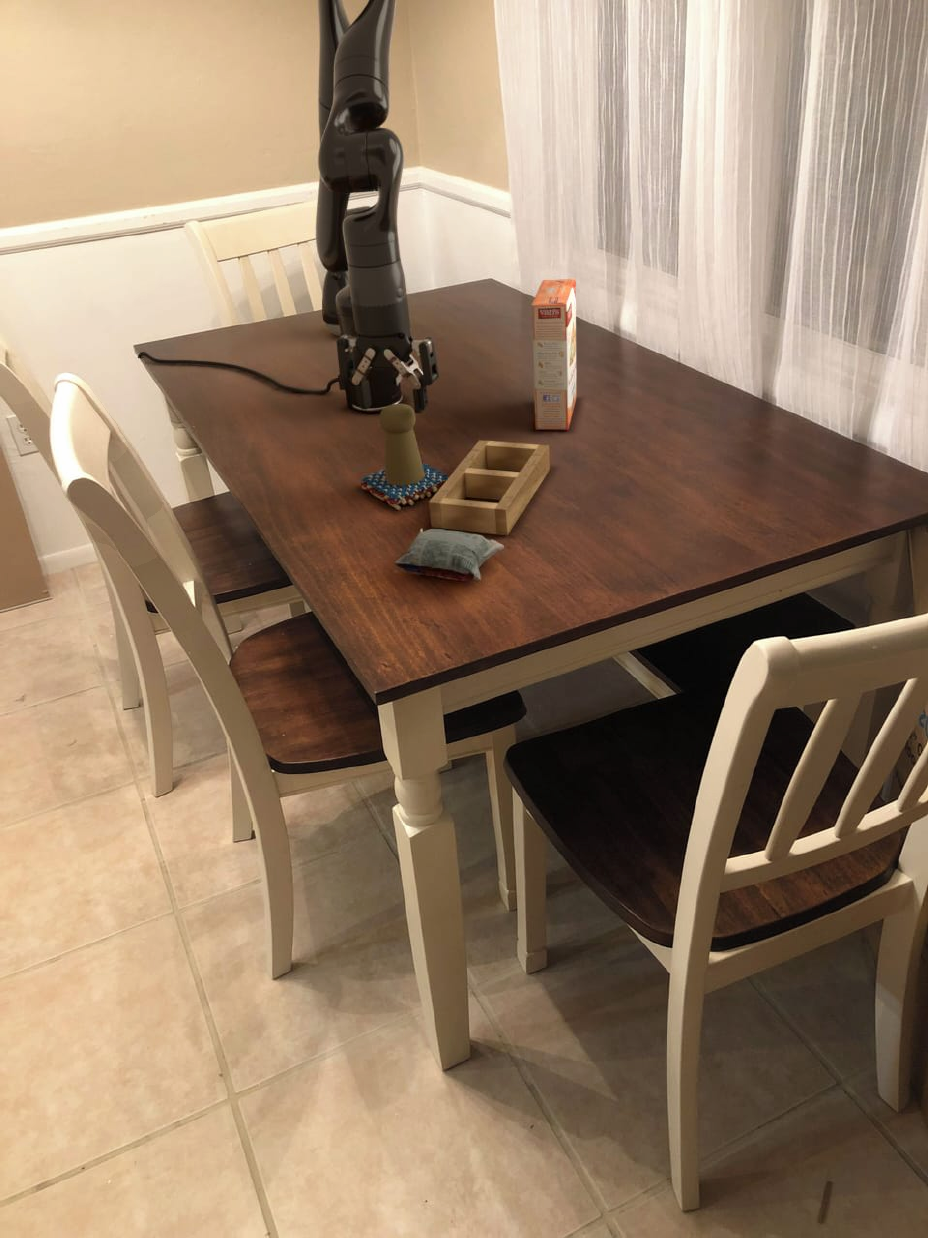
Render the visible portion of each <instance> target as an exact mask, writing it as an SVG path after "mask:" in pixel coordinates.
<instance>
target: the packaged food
mask: <svg viewBox="0 0 928 1238" xmlns="http://www.w3.org/2000/svg"><path fill="white" fill-rule="evenodd" d="M504 549H505V546H504V544H502V543H500V542H498V541H497V540H494V539H487V538H486V537H484V535H481V534H478V533H469V532H464V531H459V530H447V529H443V528H431V529H426V530H424V531H423V528H420V530H419V533H418V534H417V535H416V537H415V538H414V540H413V541H412V543H411V545H410V546H409V547H408V549H407V551H406V552H405V553H404V554H403V556H401V557H400V558H398V559H397V560H396V561H395V562H394V564H395V565H396V567H398V568H400V569H403V570H404V571H406V572H407V573H409V574H412V575H420V576H430V577H436V578H441V579H447V580H452V581H453V580H454V581H458V582H459V581H461V582H471V581H473V580H477V581H481V580H482V575H481V572H480V567H481V566H482V565H483V564H484V563H485V562H486V561H487V560H489V559H490V558H491V557H492V556H494V555H495V554H496V553H497V552H499V551H501V550H504Z"/></svg>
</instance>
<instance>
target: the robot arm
mask: <svg viewBox="0 0 928 1238" xmlns="http://www.w3.org/2000/svg"><path fill="white" fill-rule="evenodd" d="M397 2H398V1H397V0H368V1H367V3H366V4H365V5H364V7H363V9H362V10H361V11H360V13H359V14H358V15H357V16H356V18H355V19H354V20H353V21H352V22H351V23H350V21H349V18H348V15H347V12H346V9H345V6H344V1H343V0H317V14H318V15H317V16H318V81H317V82H318V83H317V84H318V88H317V103H318V104H317V113H318V114H317V115H318V117H317V119H318V140H319V141H318V142H319V143H318V147H319V148H318V155H317V166H318V167H317V168H318V173H319V177H318V188H317V189H318V191H317V192H318V193H317V203H316V216H315V245H316V251H317V255H318V258H319V261H320V263H321V265H322V266H323V268H324V269H325V270H326V271H327V270H328V271H329V272H332V273H340V272H346V271H348V282H349V285H347V286H346V287H345V288H343V289H342V290H341V291H340V292H339V293H338V294H337V296H336V307H337V313H338V319H339V325H340V332H341V337H339V338H338V339H337V340H336V349H337V351H336V353H337V361H338V370H339V371H338V372H339V374H338V375H337V377H335V378H333V379H331V380H329V381H328V382H327V385H326V388H324V389H321V390H308V389H303V388H298V387H293V386H288V385H286V384H285V385H284V384H282V383H280V382H278V381H277V380H275V379H273V378H271V377H269V376H267V375H265V374H263V373H261V372H259V371H256V370H253V369H250V368H248V367H244V366H240V365H236V364H232V363H226V362H219V361H211V360H210V361H209V360H195V359H194V360H192V359H161V358H155V357H153V356H151V355H150V354H149V353H147V352H145V351H141V352H139V354H138V355H137V359H141V358H143V356H144V357H145V358H147V359H148V360H150V361H152V362H154V363H159V364H189V365H190V364H191V365H206V366H215V367H224V368H230V369H234V370H238V371H242V372H245V373H249V374H251V375H254V376H256V377H259V378H260V379H263V380H265V381H266V382H269V383H271V384H273V385H274V386H276V387H278V388H280V389H282V390H286V391H289V392H295V393H299V394H305V395H306V394H307V395H324V394H327V393H329V392H330V390H331V387H332V386H333V385H334V384H337V383H338V387H339V390H340V391H344V392H345V393H344V394H345V399H346V404H347V408H348V409H352V410H355V411H356V412H360V413H366V414H367V413H368V414H372V413H373V414H375V413H381V411H382V409H384V408H385V407H387V406H389V405H393V404H403V402H404V398H403V393H402V391H403V390H402V386H401V381H402V380H403V378H404V379H406V380H407V381H408V382H409V384H410V385H411V386H412V399H413V407H414V408H413V409H414V413H415V414H422V413H423V412H424V411H425V410H426V408H427V407H428V406H429V397H428V386H432V385H433V384H434V383H435V382H436V381H437V380H438V379H439V375H440V374H439V368H438V362H437V354H436V348H435V343H434V339H433V338H432V337H430V336H428V337H426V338H425V339H414V338H413V336H412V334H411V321H410V320H411V319H410V311H409V302H408V295H407V284H406V275H405V272H404V267H403V263H402V257H401V249H400V239H399V230H398V210H399V209H398V208H399V198H400V191H401V185H402V180H403V179H402V178H403V173H404V165H405V151H404V147H403V144H402V142H401V139H400V138H399V135H397V134H396V133H395V132H394V131H393V130H391V129H390V128H387V127H382V125H383V124H385V123H386V121H387V120H388V117H389V114H390V103H391V101H390V99H391V98H390V97H391V95H390V89H391V88H390V82H391V81H390V78H391V77H390V61H391V60H390V59H391V49H392V48H391V46H392V38H393V31H394V25H395V18H396V8H397ZM371 192H373V193H374V192H378V198H377V201H376V203H375V204H373V205H372V206H370V205H365V206H364V205H363V206H358V207H354V208H348V206H349V201H350V197H351V195H352V194H358V193H371ZM413 351H415V352H416V353H415V354H416V356H417V357H419V358H420V364H421V368H420V365H419V362H418V361H417V360H416V358H415V357H414V356H413V355H412V352H413Z"/></svg>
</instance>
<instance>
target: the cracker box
mask: <svg viewBox="0 0 928 1238" xmlns="http://www.w3.org/2000/svg"><path fill="white" fill-rule="evenodd" d="M531 333H532V335H531V336H532V337H531V338H532V365H533V392H534V394H533V395H534V420H535V421H534V424H535V430H536V431H569V429H570V425H571V422H572V417H573V414H574V411H575V405H576V402H577V280H576V279H572V278H569V279H568V278H562V279H561V278H560V279H543V280H542V281H541V283H540V286H539V288H538V290H537V292H536V294H535V296H534V298H533V301H532V303H531Z"/></svg>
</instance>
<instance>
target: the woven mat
mask: <svg viewBox="0 0 928 1238" xmlns="http://www.w3.org/2000/svg"><path fill="white" fill-rule="evenodd" d="M421 461H422V465H423V469H424V473H425V477H424V478H423V479H422V480H421V481H419V482H417V483H414V484H411V485H405V486H397V485H392V484H389V483H387V482H386V480H385V469H380V471H379V472H377V473H376V472H375V473H373V472H372V473H371V474H370V475H368V476H364V477H363V478H362V479H361V481H362V482H360V486H361V489H363V490H365V491H367V492H370V494H372V495H373V496H374V497H376V498H377V499H379V500H380V501H382V502H386V503H387V504H388V505H390V506H391V507H393V508H394V509H396V510H397V511H400V510H401V509H402V507H401V506H400V505H403V506H405V505H407V504H409V505H410V506H413V505H414V504H415V502H414V501H418V500H419V498H420V499H421V500H423V499H425V497H429V498H430V497H431V496H432V493H437V492H438V490H439V489H440V488H441V487H442V485H443V484H444V483H445V482H446V481H447V479H448V478H449V477H450V476H448V473H442V471H441V470H436V467H434V466H433V467H430V465H429V464H428V463H426V464H425V463H424V461H423V460H421Z"/></svg>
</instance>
